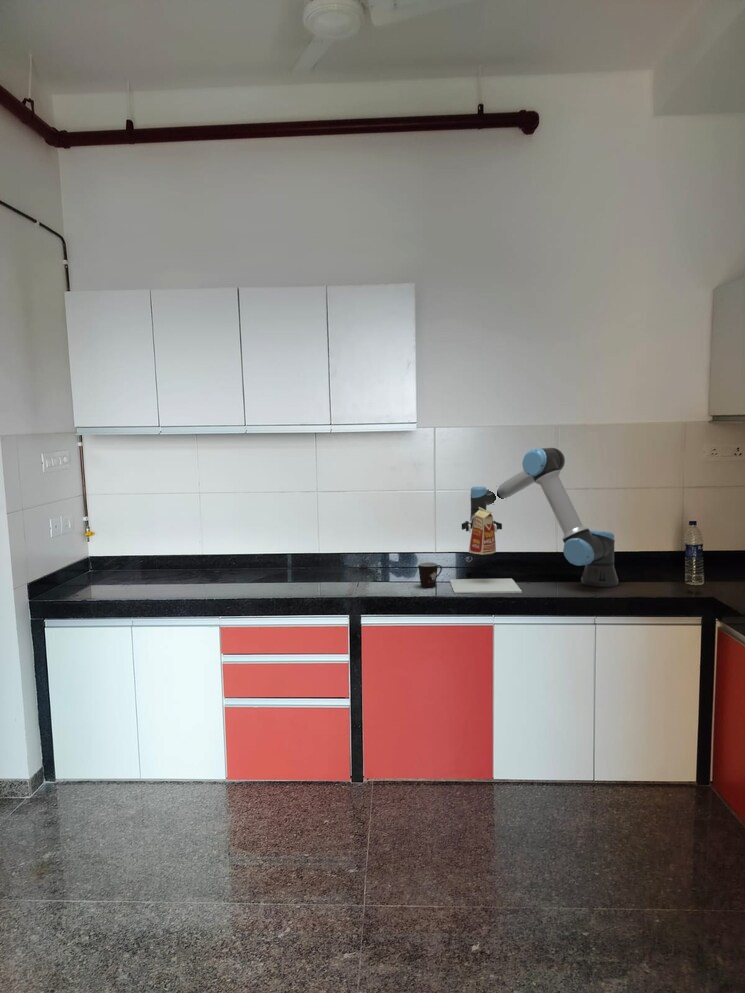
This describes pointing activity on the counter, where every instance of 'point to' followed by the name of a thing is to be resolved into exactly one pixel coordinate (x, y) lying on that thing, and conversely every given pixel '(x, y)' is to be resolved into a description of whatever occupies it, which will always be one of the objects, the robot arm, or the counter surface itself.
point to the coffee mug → (428, 574)
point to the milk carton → (482, 533)
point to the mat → (484, 586)
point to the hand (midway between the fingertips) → (482, 529)
